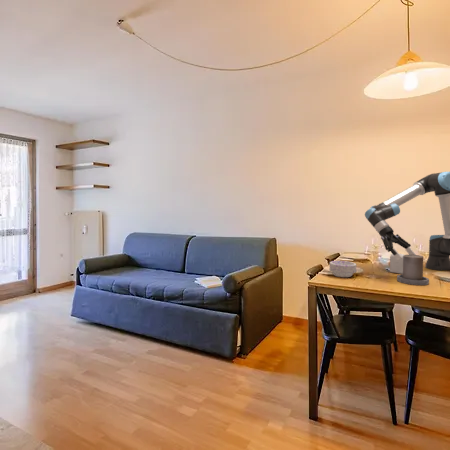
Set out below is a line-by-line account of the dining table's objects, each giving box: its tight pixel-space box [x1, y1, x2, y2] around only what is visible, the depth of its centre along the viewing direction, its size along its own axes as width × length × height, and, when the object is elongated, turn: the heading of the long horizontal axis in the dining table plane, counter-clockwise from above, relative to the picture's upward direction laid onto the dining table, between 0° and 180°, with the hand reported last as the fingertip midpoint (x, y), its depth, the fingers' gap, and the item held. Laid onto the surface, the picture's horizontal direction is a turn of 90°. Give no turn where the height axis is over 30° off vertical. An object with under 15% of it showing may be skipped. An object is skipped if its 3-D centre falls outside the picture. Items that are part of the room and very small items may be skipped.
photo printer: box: [389, 253, 405, 275], centre depth 196 cm, size 10×4×12 cm, turn 39°
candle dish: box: [396, 274, 430, 286], centre depth 174 cm, size 15×15×2 cm
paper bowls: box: [329, 260, 357, 278], centre depth 188 cm, size 15×15×8 cm
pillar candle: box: [402, 254, 424, 280], centre depth 173 cm, size 10×10×15 cm
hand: (407, 258), depth 175 cm, fingers open, 13 cm apart
